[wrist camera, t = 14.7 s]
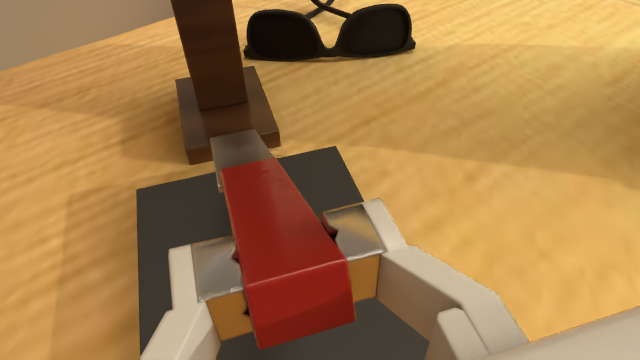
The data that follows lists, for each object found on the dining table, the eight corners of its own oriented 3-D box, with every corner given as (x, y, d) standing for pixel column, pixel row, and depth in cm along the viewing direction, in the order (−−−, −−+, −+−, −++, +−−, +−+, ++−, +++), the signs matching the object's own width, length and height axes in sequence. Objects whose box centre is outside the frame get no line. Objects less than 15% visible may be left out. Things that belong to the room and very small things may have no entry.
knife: (366, 320, 10) (357, 255, 10) (249, 355, 10) (232, 289, 9) (257, 144, 27) (252, 117, 27) (213, 153, 27) (207, 126, 26)
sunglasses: (395, -3, 55) (399, -47, 51) (416, 59, 45) (423, 9, 41) (254, 2, 55) (248, -42, 51) (243, 66, 45) (235, 16, 41)
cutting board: (530, 554, 18) (542, 548, 17) (161, 714, 15) (148, 718, 14) (335, 160, 34) (335, 145, 33) (142, 204, 32) (136, 189, 31)
